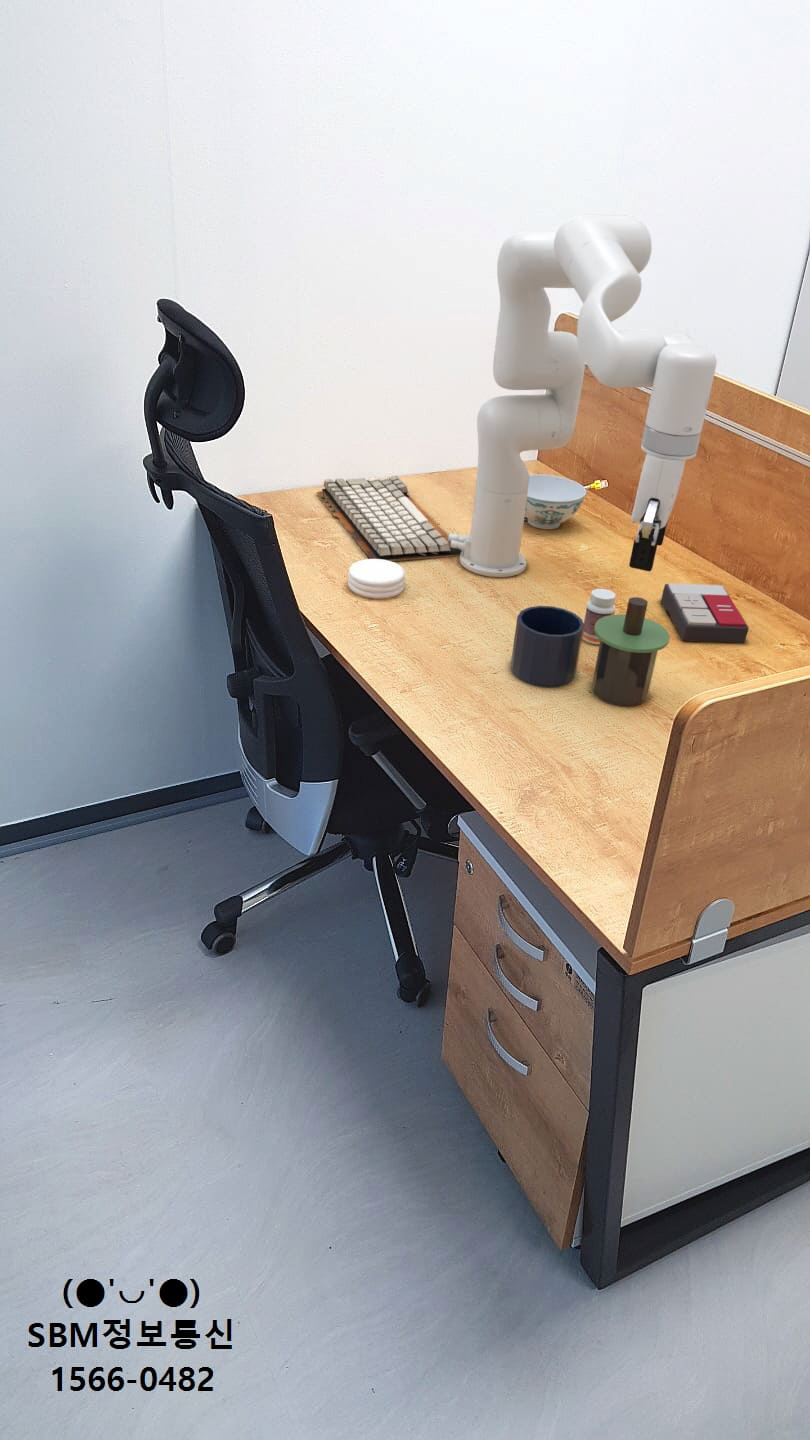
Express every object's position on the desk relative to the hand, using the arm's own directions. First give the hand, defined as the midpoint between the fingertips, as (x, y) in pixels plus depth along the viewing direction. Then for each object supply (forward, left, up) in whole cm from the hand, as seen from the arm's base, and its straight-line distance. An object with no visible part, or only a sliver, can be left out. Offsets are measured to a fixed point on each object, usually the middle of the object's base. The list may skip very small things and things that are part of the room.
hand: (645, 555), depth 159 cm
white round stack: (-47, +17, -23) cm, 55 cm away
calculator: (+9, +31, -23) cm, 39 cm away
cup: (0, 0, -23) cm, 23 cm away
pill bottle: (-7, +16, -23) cm, 29 cm away
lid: (0, 0, -13) cm, 13 cm away
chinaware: (-27, +62, -23) cm, 71 cm away
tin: (-12, +1, -23) cm, 26 cm away
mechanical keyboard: (-56, +46, -23) cm, 76 cm away
